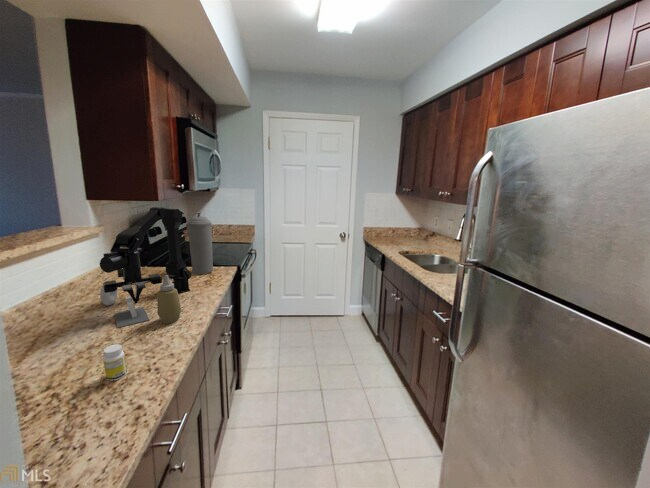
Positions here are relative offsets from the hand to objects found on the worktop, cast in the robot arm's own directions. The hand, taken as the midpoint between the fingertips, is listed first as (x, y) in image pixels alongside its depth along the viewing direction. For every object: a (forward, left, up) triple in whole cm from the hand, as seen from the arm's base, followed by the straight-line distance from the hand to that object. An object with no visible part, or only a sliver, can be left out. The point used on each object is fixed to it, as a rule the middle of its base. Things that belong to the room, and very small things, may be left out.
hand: (135, 303), depth 115 cm
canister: (-37, -40, -5) cm, 55 cm away
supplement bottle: (+10, +40, -5) cm, 41 cm away
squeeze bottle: (-9, +13, -5) cm, 17 cm away
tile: (+1, 0, -4) cm, 4 cm away
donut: (+8, -17, -5) cm, 19 cm away
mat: (+2, +2, -5) cm, 5 cm away
